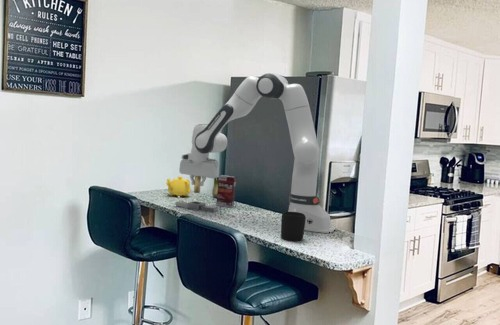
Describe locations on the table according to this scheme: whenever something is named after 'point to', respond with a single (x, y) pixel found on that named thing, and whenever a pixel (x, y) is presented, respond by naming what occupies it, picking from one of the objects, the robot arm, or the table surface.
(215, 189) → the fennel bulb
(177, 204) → the chain joint
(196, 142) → the robot arm
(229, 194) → the supplement box
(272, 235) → the table surface
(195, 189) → the pin
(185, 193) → the teapot
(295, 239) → the pen holder
